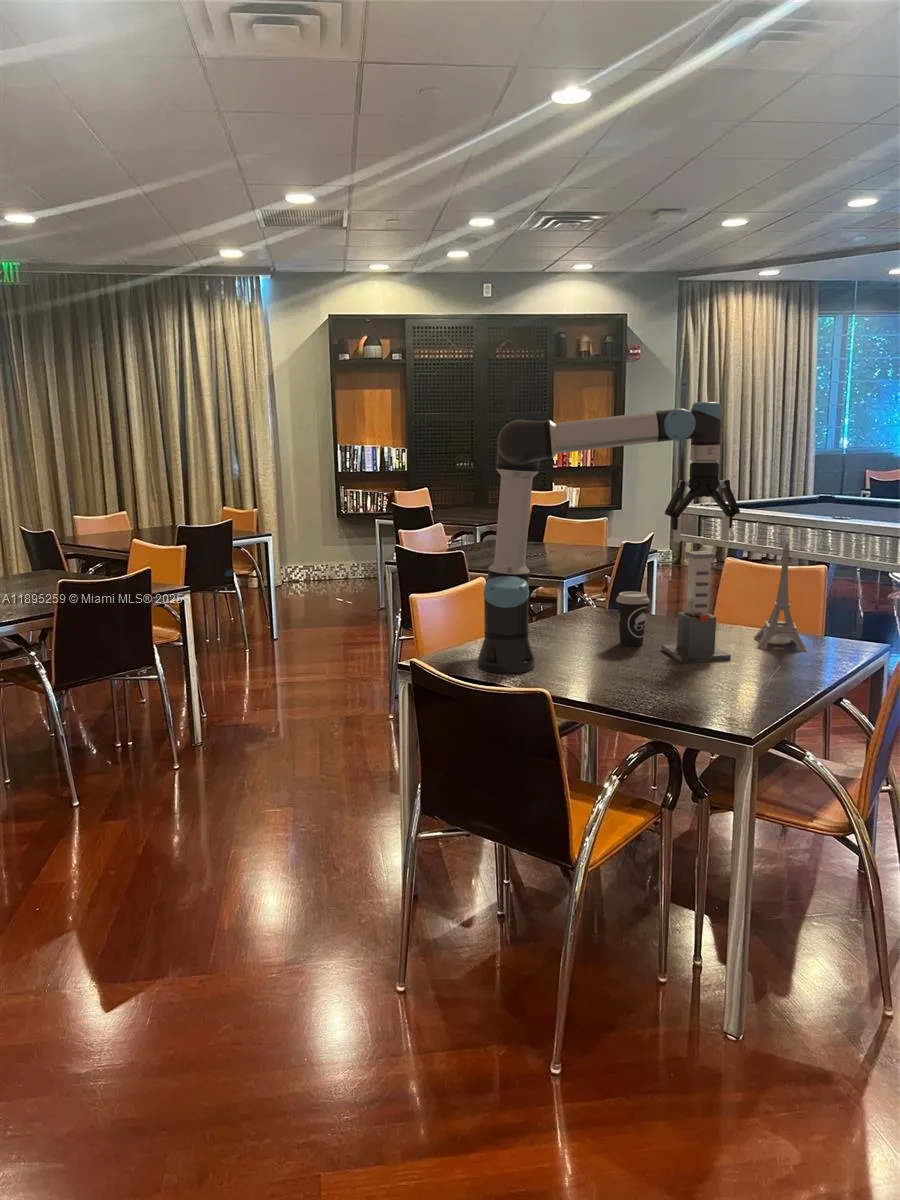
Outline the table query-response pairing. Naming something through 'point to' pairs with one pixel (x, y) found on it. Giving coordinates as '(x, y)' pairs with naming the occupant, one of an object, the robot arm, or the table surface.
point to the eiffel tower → (782, 603)
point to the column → (698, 582)
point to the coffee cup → (632, 617)
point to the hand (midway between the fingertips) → (701, 541)
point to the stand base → (696, 640)
